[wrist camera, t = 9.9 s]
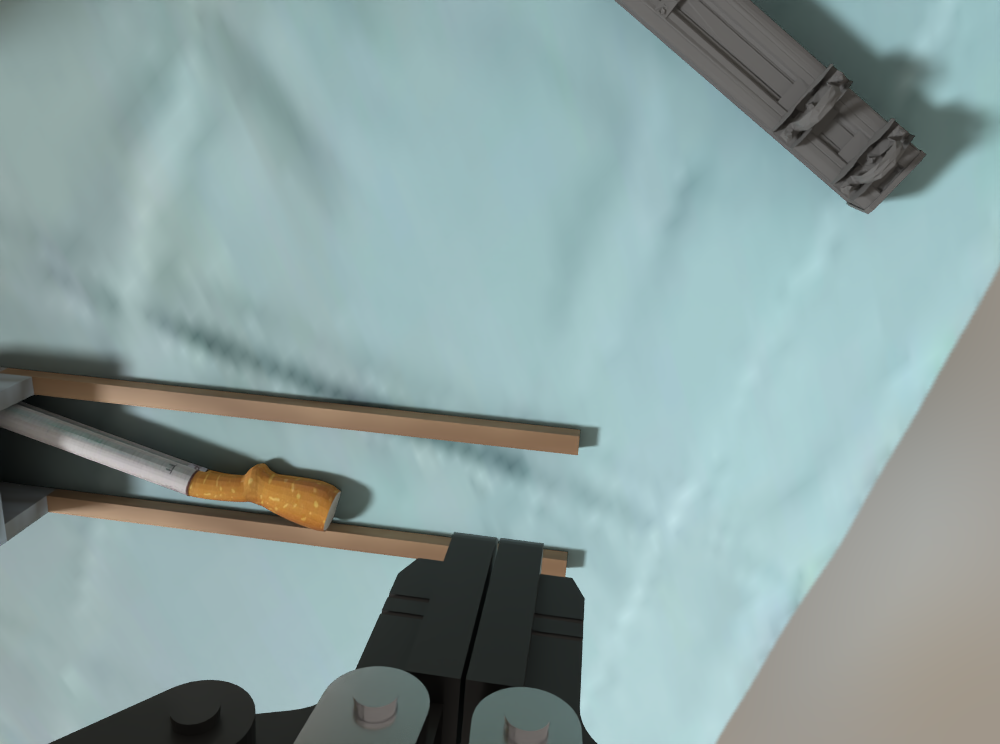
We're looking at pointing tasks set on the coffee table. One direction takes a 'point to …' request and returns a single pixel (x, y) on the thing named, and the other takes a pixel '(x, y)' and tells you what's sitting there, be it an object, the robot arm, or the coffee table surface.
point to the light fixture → (786, 93)
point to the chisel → (180, 468)
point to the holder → (18, 505)
